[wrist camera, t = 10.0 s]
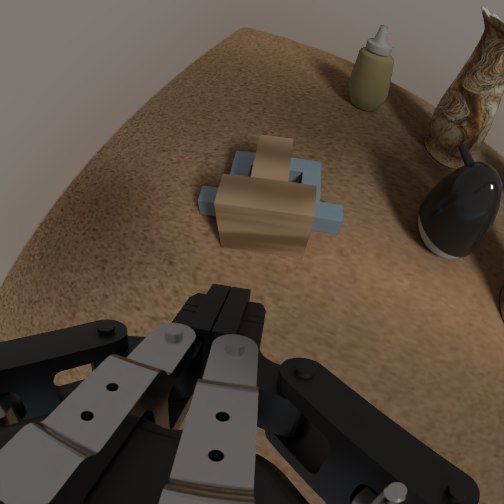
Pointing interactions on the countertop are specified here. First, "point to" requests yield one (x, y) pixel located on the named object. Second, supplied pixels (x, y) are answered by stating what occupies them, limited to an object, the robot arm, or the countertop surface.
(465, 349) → the countertop surface
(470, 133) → the vase
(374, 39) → the squeeze bottle
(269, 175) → the t block
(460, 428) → the countertop surface
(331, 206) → the t socket
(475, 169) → the roly-poly penguin toy
